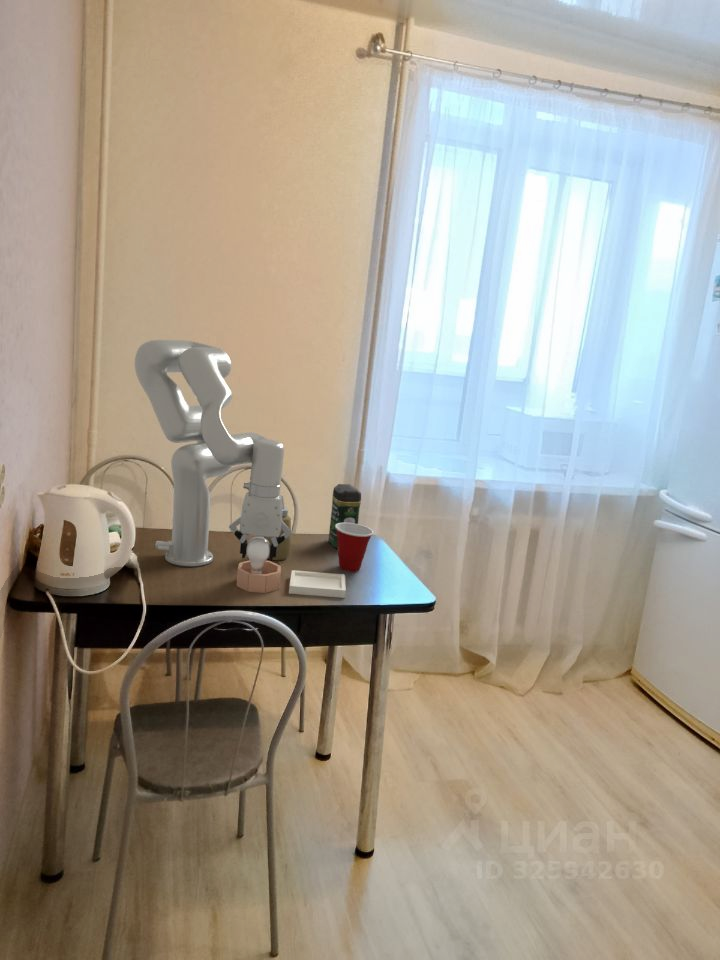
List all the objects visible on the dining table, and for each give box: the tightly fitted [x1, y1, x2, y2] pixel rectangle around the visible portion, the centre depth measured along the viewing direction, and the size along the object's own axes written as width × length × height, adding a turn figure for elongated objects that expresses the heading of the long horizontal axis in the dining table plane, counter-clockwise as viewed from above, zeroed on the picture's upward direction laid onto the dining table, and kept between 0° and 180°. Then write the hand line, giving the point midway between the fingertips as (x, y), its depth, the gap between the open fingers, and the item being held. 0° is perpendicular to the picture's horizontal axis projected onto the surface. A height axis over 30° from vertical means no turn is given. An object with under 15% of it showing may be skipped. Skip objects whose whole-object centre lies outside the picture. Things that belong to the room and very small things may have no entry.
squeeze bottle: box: [263, 494, 292, 561], centre depth 202 cm, size 8×8×18 cm
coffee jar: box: [328, 483, 362, 549], centre depth 219 cm, size 10×8×19 cm
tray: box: [288, 569, 347, 599], centre depth 185 cm, size 14×11×2 cm
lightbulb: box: [246, 536, 271, 574], centre depth 183 cm, size 6×6×11 cm
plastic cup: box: [335, 522, 374, 573], centre depth 200 cm, size 11×11×12 cm
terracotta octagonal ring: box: [236, 560, 282, 594], centre depth 183 cm, size 11×11×4 cm
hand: (257, 557), depth 182 cm, fingers closed on lightbulb, 6 cm apart
